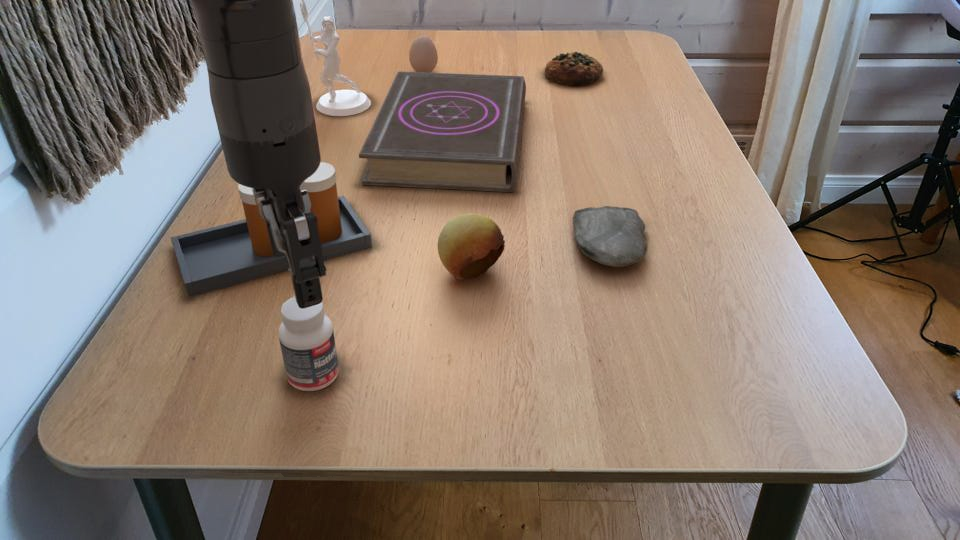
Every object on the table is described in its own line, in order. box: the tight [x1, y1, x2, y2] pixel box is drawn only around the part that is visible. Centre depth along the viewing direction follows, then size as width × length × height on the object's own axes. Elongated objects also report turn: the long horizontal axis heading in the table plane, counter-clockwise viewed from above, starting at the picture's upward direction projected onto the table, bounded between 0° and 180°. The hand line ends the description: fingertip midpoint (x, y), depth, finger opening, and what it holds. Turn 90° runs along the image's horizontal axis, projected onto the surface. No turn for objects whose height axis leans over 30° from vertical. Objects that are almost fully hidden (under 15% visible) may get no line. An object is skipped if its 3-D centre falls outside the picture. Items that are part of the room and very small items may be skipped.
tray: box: [170, 195, 373, 298], centre depth 93 cm, size 23×11×2 cm, turn 117°
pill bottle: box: [278, 296, 340, 392], centre depth 73 cm, size 5×5×9 cm
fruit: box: [437, 212, 506, 281], centre depth 87 cm, size 8×8×8 cm
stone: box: [572, 205, 648, 268], centre depth 93 cm, size 13×9×3 cm
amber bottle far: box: [301, 161, 342, 243], centre depth 93 cm, size 5×5×9 cm
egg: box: [408, 34, 439, 73], centre depth 137 cm, size 5×5×7 cm
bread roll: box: [544, 51, 604, 87], centre depth 138 cm, size 11×11×5 cm
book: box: [358, 70, 527, 193], centre depth 116 cm, size 30×22×5 cm
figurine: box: [299, 0, 372, 117], centre depth 123 cm, size 10×10×18 cm
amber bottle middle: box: [237, 183, 274, 257], centre depth 90 cm, size 5×5×9 cm
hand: (297, 277), depth 68 cm, fingers open, 8 cm apart
